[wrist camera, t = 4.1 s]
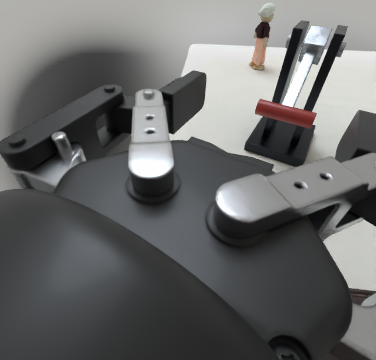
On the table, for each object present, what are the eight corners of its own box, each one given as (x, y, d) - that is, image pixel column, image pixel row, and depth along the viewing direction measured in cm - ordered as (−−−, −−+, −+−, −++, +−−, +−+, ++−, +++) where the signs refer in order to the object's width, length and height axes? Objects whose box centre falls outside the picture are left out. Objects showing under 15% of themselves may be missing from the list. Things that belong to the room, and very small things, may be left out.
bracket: (301, 168, 31) (361, 44, 21) (244, 149, 34) (272, 31, 23) (312, 132, 38) (363, 23, 27) (263, 118, 40) (292, 14, 30)
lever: (307, 134, 24) (314, 119, 22) (254, 119, 26) (255, 104, 23) (340, 50, 27) (349, 30, 25) (291, 42, 29) (295, 23, 27)
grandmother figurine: (270, 70, 56) (287, 5, 47) (256, 72, 55) (271, 6, 47) (255, 60, 61) (268, -1, 53) (242, 61, 61) (252, 0, 52)
